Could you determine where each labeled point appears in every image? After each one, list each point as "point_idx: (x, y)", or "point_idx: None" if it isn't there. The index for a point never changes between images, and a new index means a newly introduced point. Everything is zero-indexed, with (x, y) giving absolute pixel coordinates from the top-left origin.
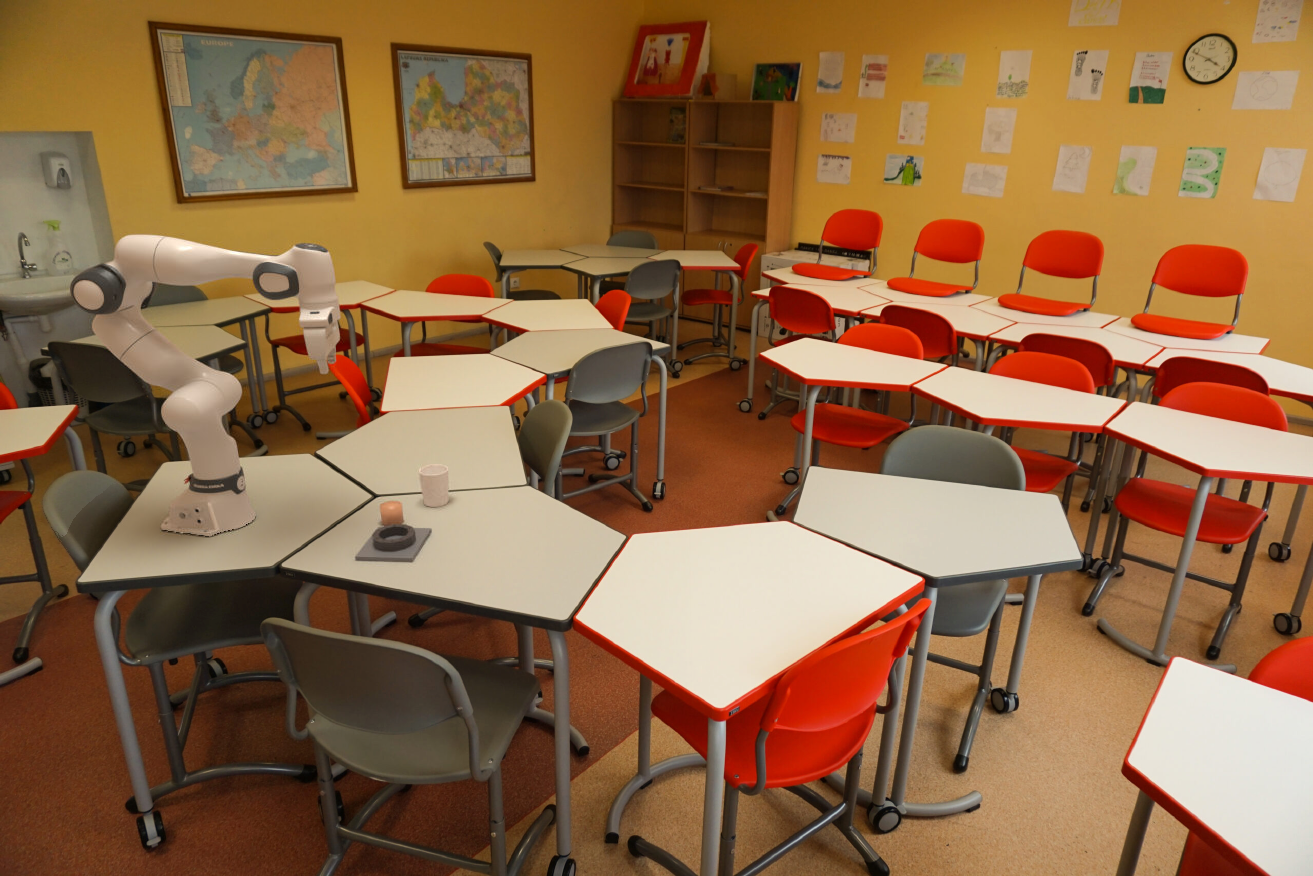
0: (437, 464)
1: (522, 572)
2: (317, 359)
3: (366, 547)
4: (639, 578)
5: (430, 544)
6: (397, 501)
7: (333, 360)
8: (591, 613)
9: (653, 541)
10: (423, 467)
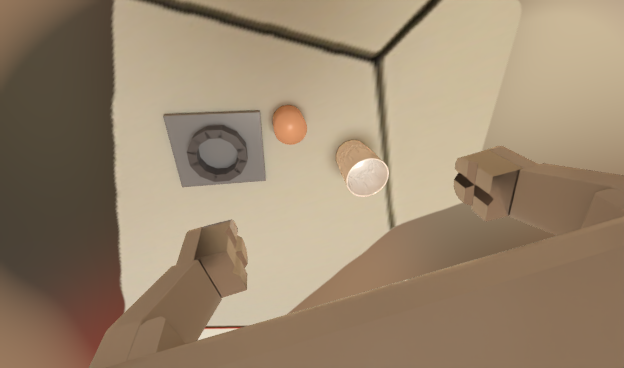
0: (387, 176)
1: None
2: (105, 356)
3: (194, 121)
4: None
5: (232, 187)
6: (304, 134)
7: (469, 196)
8: None
9: None
10: (378, 160)
